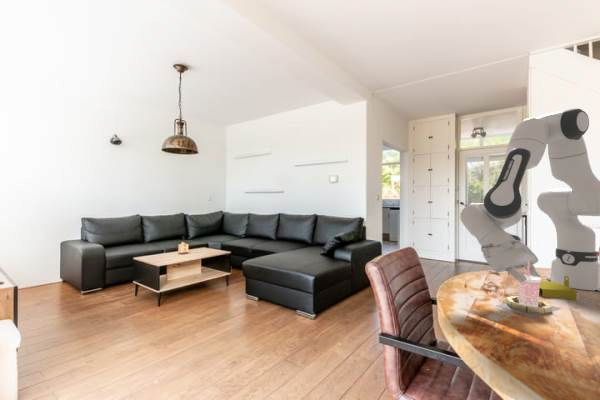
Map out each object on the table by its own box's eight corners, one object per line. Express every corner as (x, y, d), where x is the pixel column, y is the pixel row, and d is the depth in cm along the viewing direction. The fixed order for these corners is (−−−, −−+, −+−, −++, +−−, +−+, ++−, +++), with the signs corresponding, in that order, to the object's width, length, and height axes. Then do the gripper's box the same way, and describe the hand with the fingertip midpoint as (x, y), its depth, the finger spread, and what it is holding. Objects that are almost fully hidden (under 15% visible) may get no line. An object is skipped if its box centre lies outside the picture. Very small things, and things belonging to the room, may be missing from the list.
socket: (519, 299, 96) (519, 294, 96) (557, 310, 86) (557, 304, 86) (500, 304, 91) (500, 299, 91) (538, 316, 82) (538, 310, 82)
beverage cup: (511, 302, 92) (511, 259, 92) (528, 301, 92) (528, 258, 92) (527, 309, 86) (527, 263, 86) (546, 308, 86) (546, 263, 86)
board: (524, 300, 97) (524, 297, 97) (561, 311, 88) (561, 308, 88) (495, 308, 90) (495, 305, 90) (532, 321, 81) (532, 317, 81)
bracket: (508, 268, 112) (551, 270, 109) (508, 288, 112) (551, 290, 109) (533, 280, 96) (584, 282, 94) (533, 302, 97) (584, 305, 94)
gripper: (485, 240, 91) (519, 278, 82) (521, 236, 99) (556, 270, 91) (471, 251, 95) (503, 289, 86) (508, 246, 103) (539, 280, 95)
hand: (530, 279), depth 88 cm, fingers closed on beverage cup, 6 cm apart
